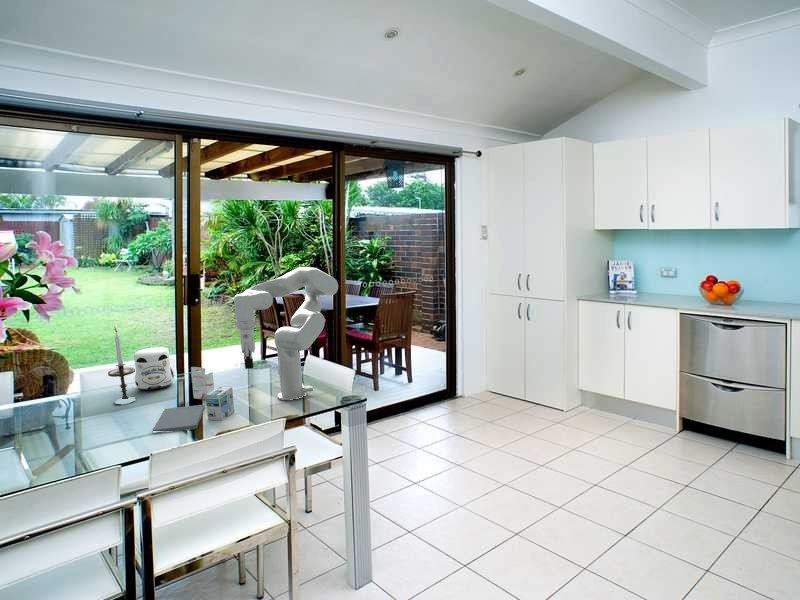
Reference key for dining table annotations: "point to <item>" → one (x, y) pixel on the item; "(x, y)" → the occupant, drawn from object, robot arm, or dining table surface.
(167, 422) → the mat
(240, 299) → the robot arm
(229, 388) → the light bulb box
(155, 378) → the milk container
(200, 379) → the ink cartridge box
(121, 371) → the candlestick
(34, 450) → the dining table surface
